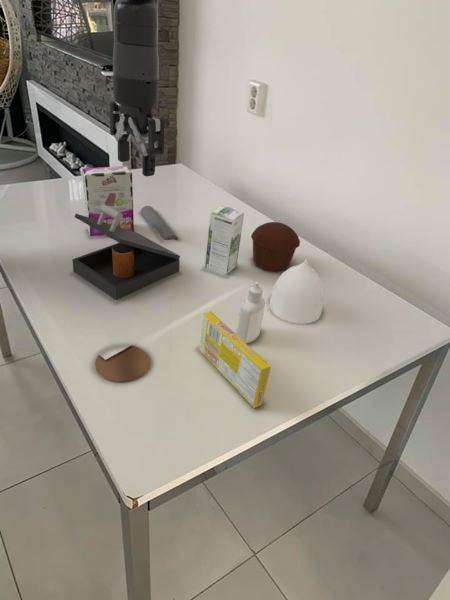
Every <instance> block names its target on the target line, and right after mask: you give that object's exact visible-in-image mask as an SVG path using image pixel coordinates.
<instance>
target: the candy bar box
mask: <svg viewBox="0 0 450 600" xmlns="http://www.w3.org/2000/svg"><path fill="white" fill-rule="evenodd" d="M81 175H82V185H83V194H84V207H85V215H86V216H85V217H88V218H92V219H95V220H99V217H100V214H101V210H100V208H101V206H102V205H106V206H108V207H110V208H112V209H114V210H116V211H118V212H120V213H122V215H123V217H122V219H121V220H120V221H118V224H117V227H120V228H123V229H126V230H129V231H133V232H135V223H134V222H135V221H134V219H135V218H134V193H133V191H134V190H133V189H134V188H133V171H132V170H131V169H130V168H129V166H128V165H122V166H120V165H119V166H104V167H101V166H100V167H99V166H98V167H85V168H84V167H83V168H81ZM113 220H114V218H112V217H110V216H108V215H105V217H104V220H103V222H104V223H107V224H111V225H112V223H113ZM86 227H87V231H88V234H89V236H90V237H94V236H106V235H105V234H103V233H101V232H100V231H98V230H96V229H94V228H93V227H91V226H89V225H87V224H86Z"/></svg>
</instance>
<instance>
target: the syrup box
mask: <svg viewBox="0 0 450 600" xmlns="http://www.w3.org/2000/svg"><path fill="white" fill-rule="evenodd" d="M209 215H210V216H209V225H208V233H207V234H208V235H207V244H206V254H205V263H204V264H205V265H204V268H205V269H208V270H210V271H214V272H217V273H220V274H222V275H225V276H226V275H228V274H229V273H230V272H231V271H232V270H235V269H236V268H237V265H238V258H239V252H240V246H241V245H240V244H241V238H242V231H243V224H244V218H245V212H244V211H241V210H239V209H238V208H234V207H231V206H227V205H220V207H218V208H217V209H216V210H214V211H212V212H211V213H209Z"/></svg>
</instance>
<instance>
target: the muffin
mask: <svg viewBox="0 0 450 600" xmlns="http://www.w3.org/2000/svg"><path fill="white" fill-rule="evenodd" d="M251 241H252V260H253V262H254V264H255V266H256V267H257V268H259V269H262V270H263V271H264V272H273V273H278V272H285V271H286V270H287V269H288V268H289V266H290V264H291V263H292V260H293V257H294V254H295V252H296V249H297V248H299V247H300V244H301V240H300V238H299V235H298V234H297V232H296V231H295V230H294V229H293V228H292V227H291V226H289V225H287V224H285V223H282V222H278V221H268V222H265V223H262V224H261V225H258V226H257V227H256V228H255V229H254V230H253V232H252V233H251Z"/></svg>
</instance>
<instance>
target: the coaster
mask: <svg viewBox="0 0 450 600" xmlns="http://www.w3.org/2000/svg"><path fill="white" fill-rule="evenodd" d="M149 367H150V357H149V355H148V354H147V352H146V351H145V350H144V349H142V348H141V347H138V346H136V345H130V346H128V347H125V348H124V349H122V350H120V351H119V352H117V353H115V354H113V355H111V356H110V357H107V358H106V359H105V358H104V357H102V356H101V355H100V354H98V355H97V357H96V359H95V361H94V368H95V371H96V373H97V374H98V375H99V376H100V377H101V378H102V379H104V380H106V381H109V382H112V383H127V382H132V381H135V380H138V379H139V378H141V377H143V376H144V375H145V374H146V372H147V371H148V370H149Z"/></svg>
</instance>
